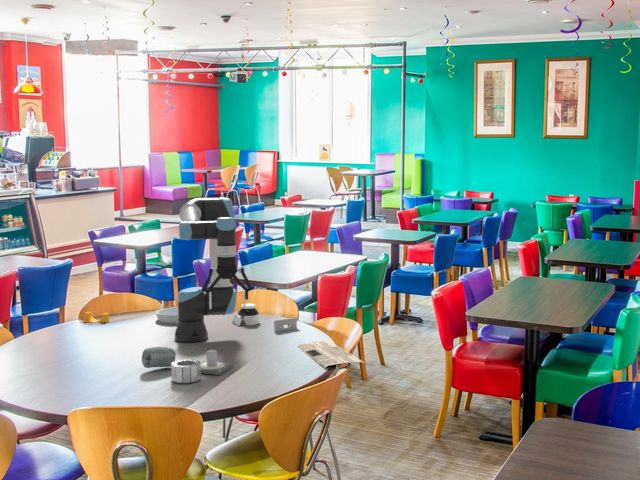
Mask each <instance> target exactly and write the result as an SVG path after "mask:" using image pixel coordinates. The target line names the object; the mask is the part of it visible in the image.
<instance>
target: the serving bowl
mask: <svg viewBox="0 0 640 480" xmlns="http://www.w3.org/2000/svg"><path fill="white" fill-rule="evenodd" d="M155 314H156V318H157V320H158V321H159V322H160V323H163V324H170V325H171V324H173V325H174V324H175V325H176V324H177V325H178V306H173V307H166V308H162V309H159V310H157V311H155Z"/></svg>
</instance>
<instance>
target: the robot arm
mask: <svg viewBox="0 0 640 480" xmlns="http://www.w3.org/2000/svg"><path fill="white" fill-rule="evenodd" d="M179 218H180V222H179V223H178V231H179V232H178V234H179V240H182V241H183V240H185V241H191V240H209V248H210V249H209V250H210V251H209V253H210V255H209V257H210V268H209V273H208V276H207V277H206V280H205V281H204V284H203V286H192V287H187V288H184V289H181V290H180V291H178V293H177V300H176V302H177V307H178V324H177V326H176V329H175V332H174V341H177V342H181V343H182V342H183V343H195V342H196V343H197V342H203V341H206V340H208V338H209V333H208V330H207V326H206V324H205V319H204V318H205V316H225V315H233V314H234V312H235V310H236V305H237V293H238V292H237V289H236V288H234V285H233V284H232V283H231V282H230V281H231V279H233V280H235V282H236V283H237V284H238V285H239V286H240V287H241V289H242V290H243V292H242V299H243V303H242V304H243V307H244V308H245V304H246V300H249V292H250V291H253V286H252V285H251V283H250V281H249V279H248V276H247V274H246V273H245V268H244V267H243V266H241V267H237V256H236V255H237V244H236V242H237V241H236V237H237V236H236V233H237V231H236V227H237V224H236V217H235V211H234V205H233V202H232V199H231V198H229V197H221V196H220V197H196V198H192V199H190V200H188V201H186V202H185V203H183V205H181V207H180V209H179ZM238 272H239V274H241V276H242V278H243V280H244V282H245V284H246V285H247V286H246V285H245V284H244V283H243V282H242V281H241V279H240V278H239V277H238V276H237V275H236V274H237V273H238Z"/></svg>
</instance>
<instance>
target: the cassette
mask: <svg viewBox="0 0 640 480" xmlns="http://www.w3.org/2000/svg"><path fill="white" fill-rule="evenodd" d="M297 319H298V318H297V317H289V318H282V319H274V322H273V325H274V326H273V328H274V329H273V332H274V333H280V332H284V331H285V332H286V331H293V330H296V329H298V326H297V325H298V323H297V322H298V321H297Z"/></svg>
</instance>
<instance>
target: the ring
mask: <svg viewBox="0 0 640 480" xmlns="http://www.w3.org/2000/svg"><path fill="white" fill-rule="evenodd" d="M201 363H202V362H201V361H200V360H197V359H189V358H187V359H179V360H175V361H174V362H172V363H171V381H173V382H175V383H183V384H184V383H185V384H187V383H194V382H198V381H199V380H201V379H202V373H201Z"/></svg>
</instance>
